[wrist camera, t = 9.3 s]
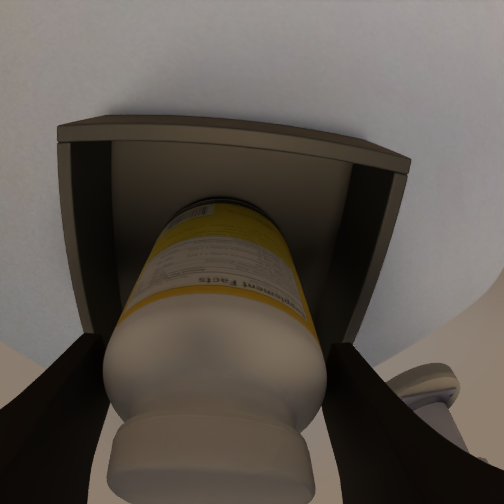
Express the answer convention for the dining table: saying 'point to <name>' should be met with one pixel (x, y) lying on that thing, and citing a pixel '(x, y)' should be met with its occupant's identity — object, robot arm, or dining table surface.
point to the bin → (226, 187)
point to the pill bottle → (215, 367)
